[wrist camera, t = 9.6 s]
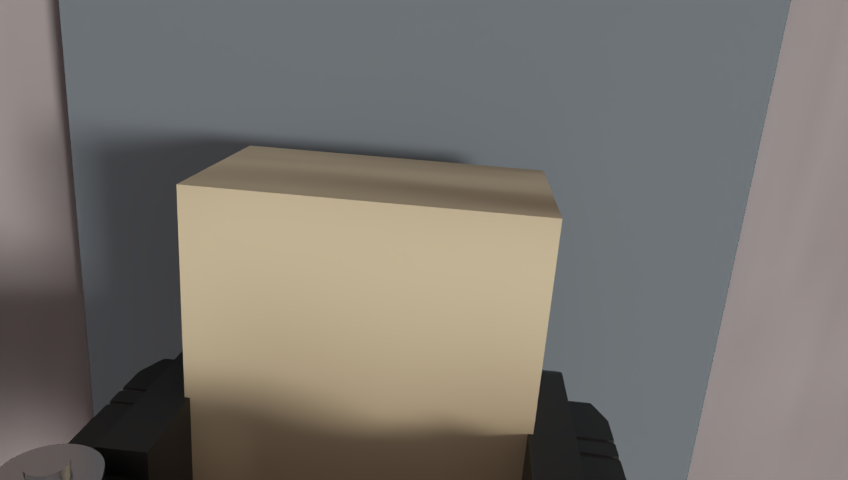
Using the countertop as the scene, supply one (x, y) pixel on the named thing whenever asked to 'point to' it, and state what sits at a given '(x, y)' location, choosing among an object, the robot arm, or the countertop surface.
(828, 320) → the countertop surface
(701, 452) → the countertop surface
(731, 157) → the mat
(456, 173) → the card box
